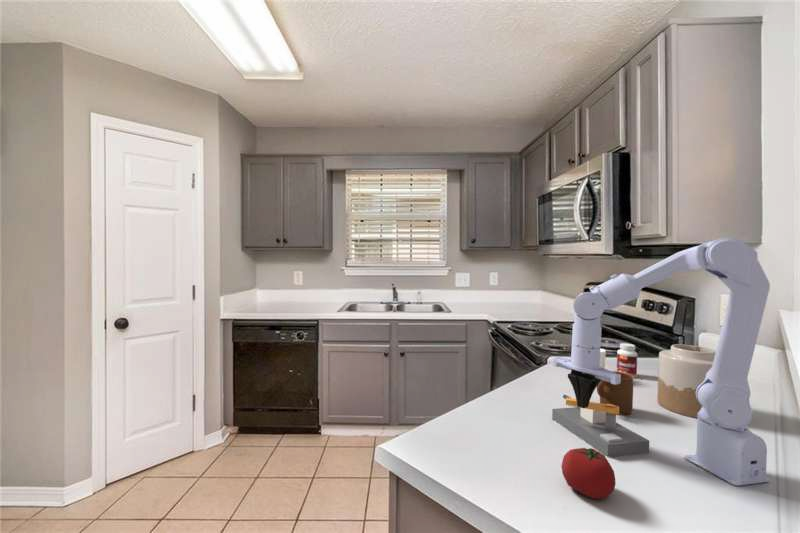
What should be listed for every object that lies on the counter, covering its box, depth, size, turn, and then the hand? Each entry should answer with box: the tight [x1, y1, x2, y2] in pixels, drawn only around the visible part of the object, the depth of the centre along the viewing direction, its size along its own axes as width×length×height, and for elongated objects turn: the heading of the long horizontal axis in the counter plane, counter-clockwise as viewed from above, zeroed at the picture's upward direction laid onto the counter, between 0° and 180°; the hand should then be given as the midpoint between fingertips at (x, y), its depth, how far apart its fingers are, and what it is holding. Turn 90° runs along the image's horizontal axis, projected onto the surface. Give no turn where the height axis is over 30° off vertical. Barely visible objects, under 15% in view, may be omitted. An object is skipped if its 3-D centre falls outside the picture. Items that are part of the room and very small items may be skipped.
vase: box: [657, 343, 716, 419], centre depth 99 cm, size 15×15×17 cm
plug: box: [562, 394, 606, 423], centre depth 89 cm, size 12×4×3 cm, turn 12°
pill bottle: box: [615, 342, 638, 378], centre depth 129 cm, size 6×6×11 cm
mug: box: [596, 370, 634, 416], centre depth 96 cm, size 12×8×9 cm, turn 120°
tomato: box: [561, 447, 617, 500], centre depth 61 cm, size 8×8×7 cm
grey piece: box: [551, 406, 650, 458], centre depth 82 cm, size 18×10×6 cm, turn 12°
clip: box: [565, 397, 620, 415], centre depth 81 cm, size 10×3×1 cm, turn 64°
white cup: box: [599, 347, 607, 369], centre depth 125 cm, size 8×8×10 cm
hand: (582, 406), depth 81 cm, fingers closed, pressing on clip
